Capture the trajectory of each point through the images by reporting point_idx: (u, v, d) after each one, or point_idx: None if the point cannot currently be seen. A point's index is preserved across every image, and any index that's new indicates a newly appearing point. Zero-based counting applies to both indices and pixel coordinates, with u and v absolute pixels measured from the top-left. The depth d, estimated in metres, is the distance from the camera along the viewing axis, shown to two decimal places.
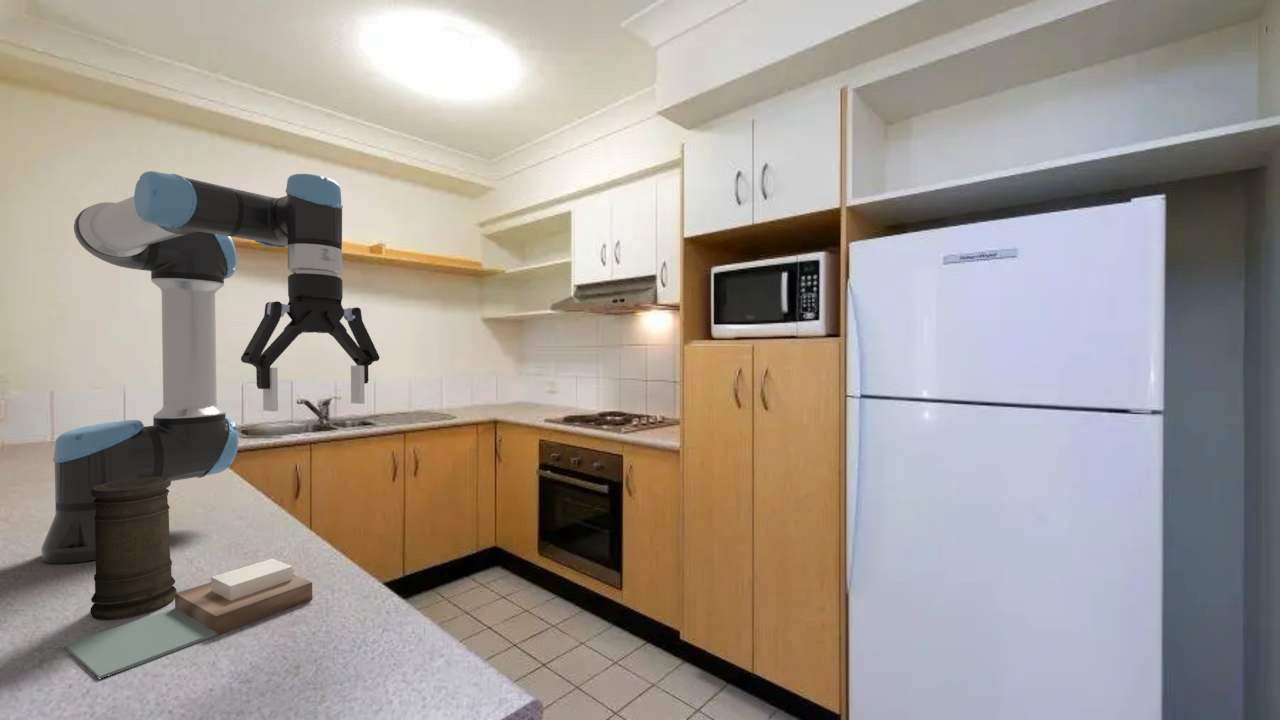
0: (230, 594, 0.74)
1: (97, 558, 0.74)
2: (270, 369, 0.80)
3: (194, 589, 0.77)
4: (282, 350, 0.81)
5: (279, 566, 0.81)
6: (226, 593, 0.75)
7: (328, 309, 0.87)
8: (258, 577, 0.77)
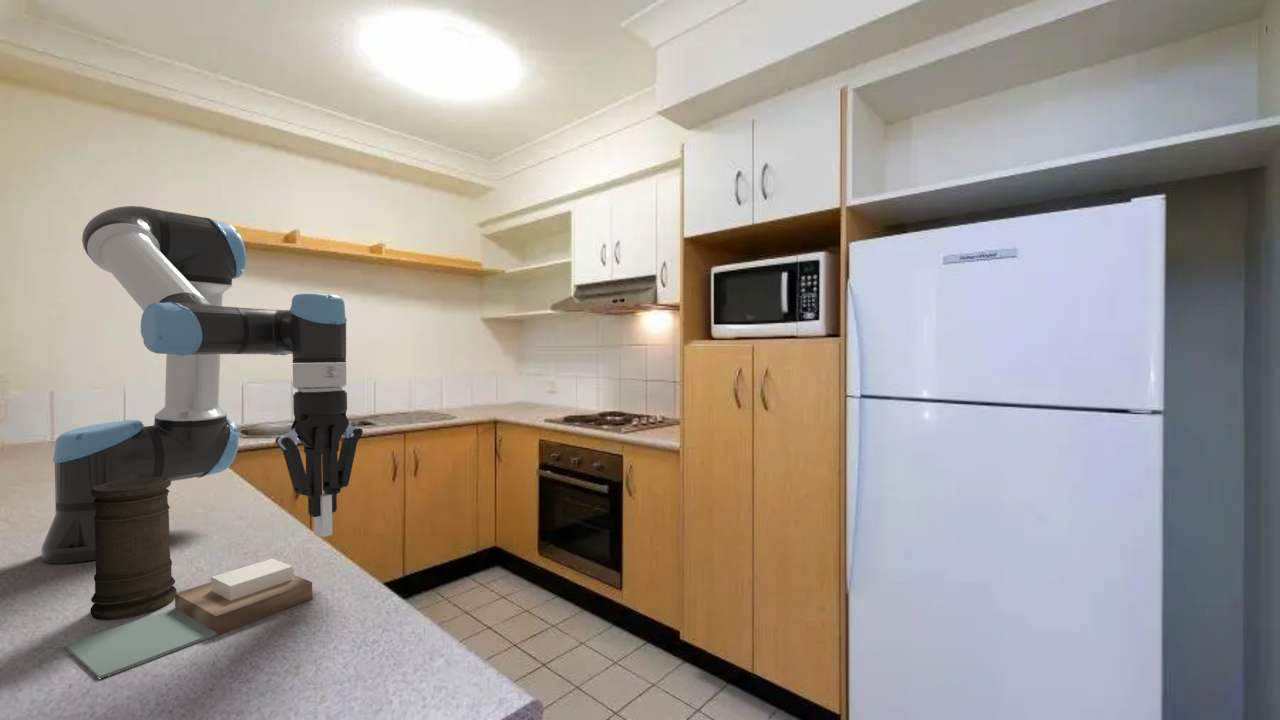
0: (230, 594, 0.74)
1: (97, 558, 0.74)
2: (321, 498, 0.86)
3: (194, 589, 0.77)
4: (320, 475, 0.86)
5: (279, 566, 0.81)
6: (226, 593, 0.75)
7: (336, 416, 0.88)
8: (258, 577, 0.77)
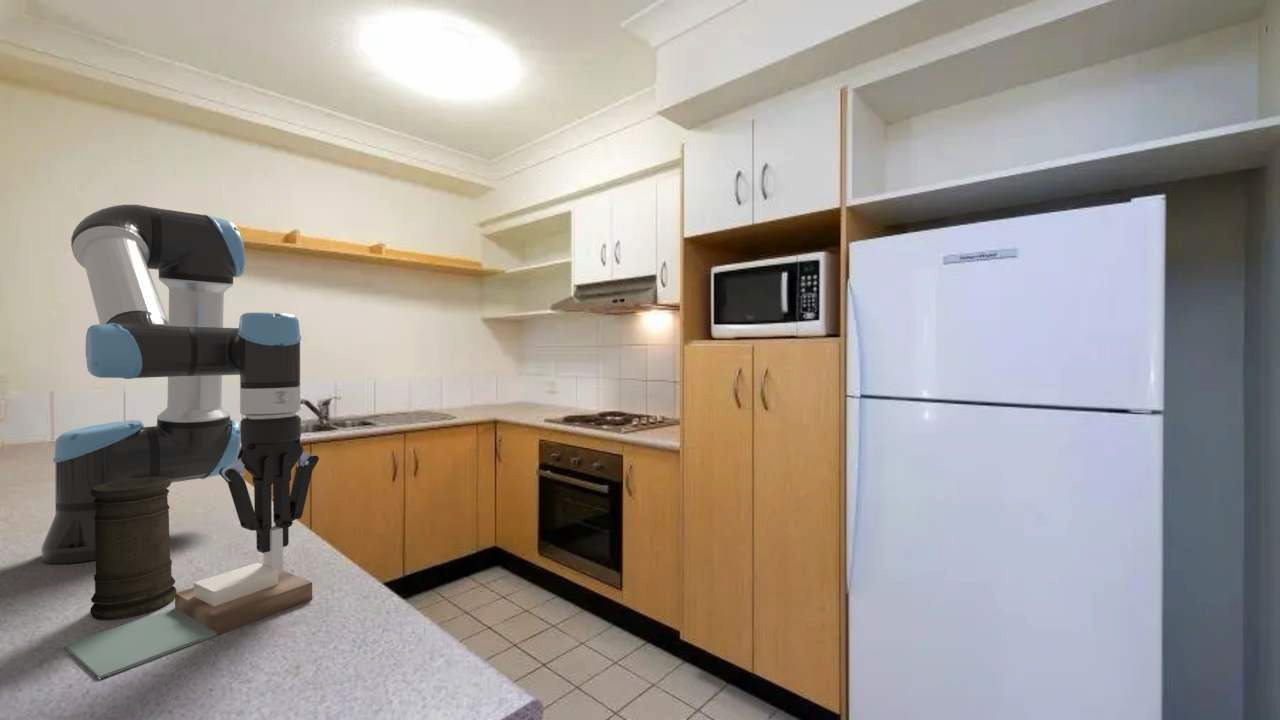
0: (213, 600, 0.72)
1: (97, 558, 0.74)
2: (270, 532, 0.80)
3: None
4: (270, 507, 0.80)
5: (264, 570, 0.79)
6: (209, 599, 0.73)
7: (289, 443, 0.82)
8: (242, 582, 0.75)
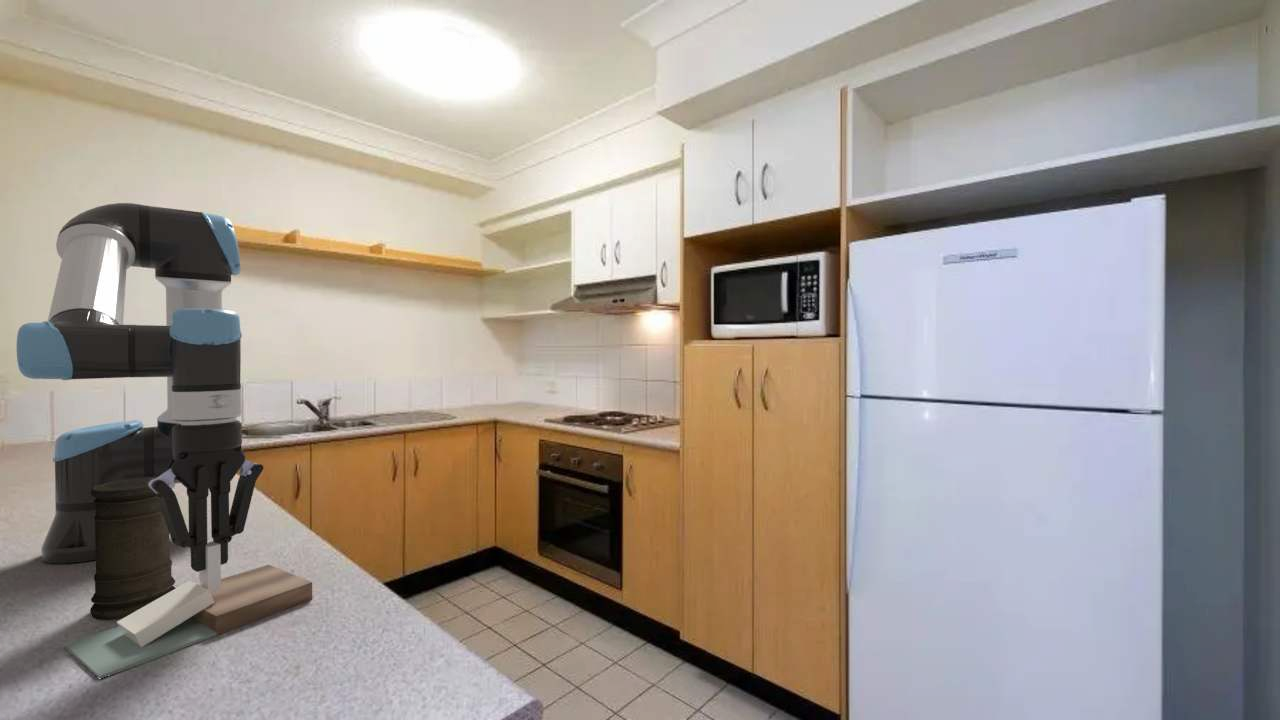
0: (138, 641, 0.66)
1: (97, 558, 0.74)
2: (206, 548, 0.73)
3: None
4: (205, 522, 0.73)
5: (194, 592, 0.72)
6: (135, 639, 0.66)
7: (228, 451, 0.75)
8: (168, 614, 0.68)
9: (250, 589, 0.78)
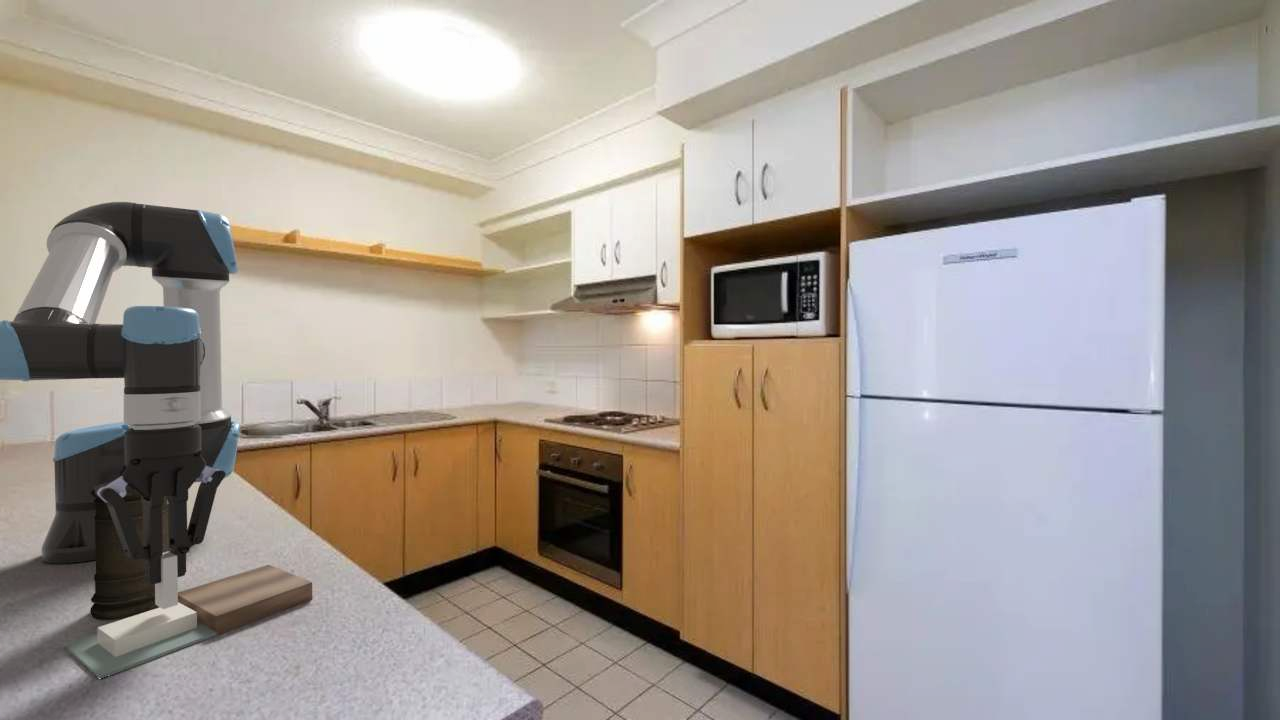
0: (115, 649, 0.64)
1: (97, 558, 0.74)
2: (161, 560, 0.69)
3: (194, 589, 0.77)
4: (160, 532, 0.69)
5: (182, 612, 0.71)
6: (111, 648, 0.65)
7: (186, 457, 0.71)
8: (152, 627, 0.67)
9: (250, 589, 0.78)
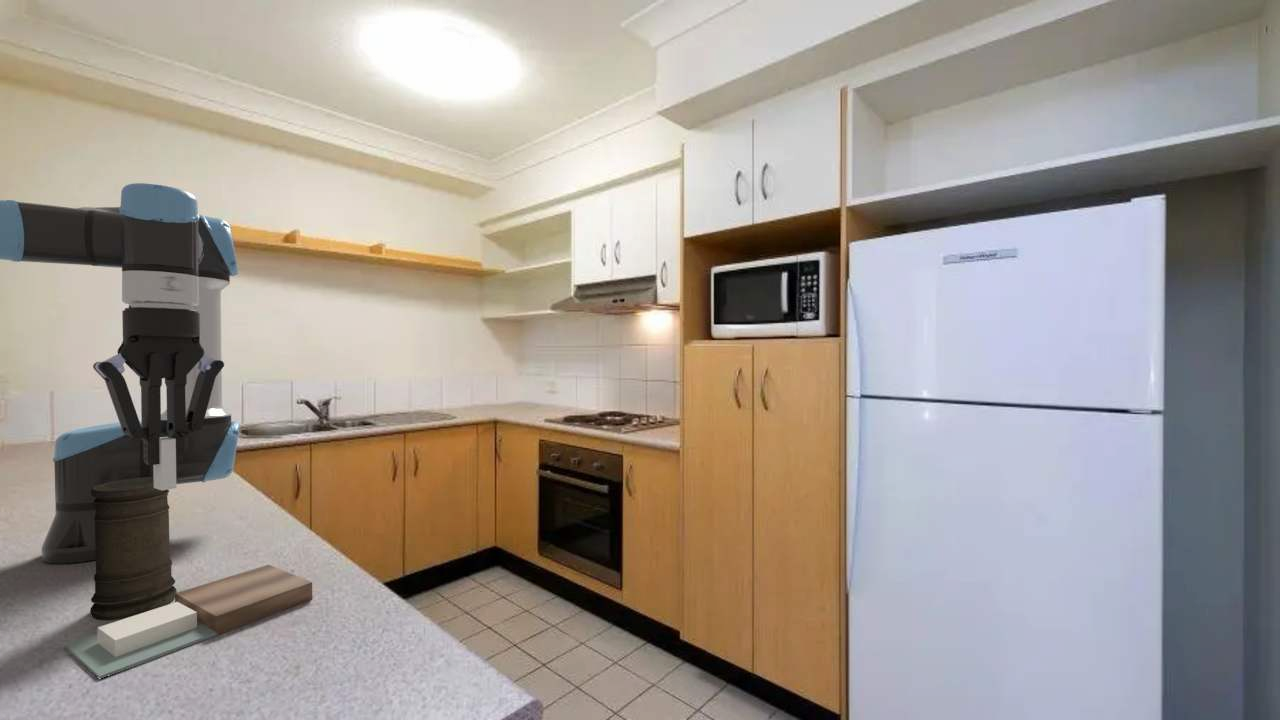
0: (115, 649, 0.64)
1: (97, 558, 0.74)
2: (159, 442, 0.69)
3: (194, 589, 0.77)
4: (158, 413, 0.69)
5: (182, 612, 0.71)
6: (111, 648, 0.65)
7: (184, 342, 0.71)
8: (152, 627, 0.67)
9: (250, 589, 0.78)
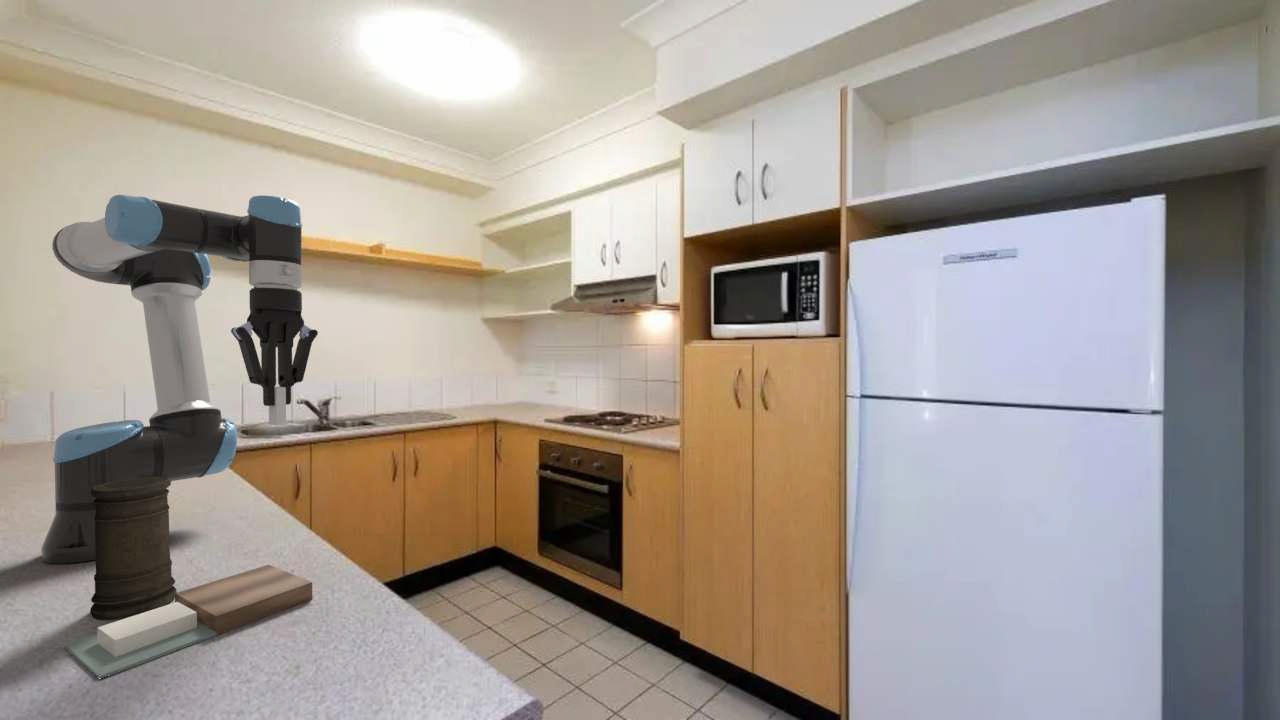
0: (115, 649, 0.64)
1: (97, 558, 0.74)
2: (275, 389, 0.92)
3: (194, 589, 0.77)
4: (274, 367, 0.92)
5: (182, 612, 0.71)
6: (111, 648, 0.65)
7: (291, 314, 0.94)
8: (152, 627, 0.67)
9: (250, 589, 0.78)
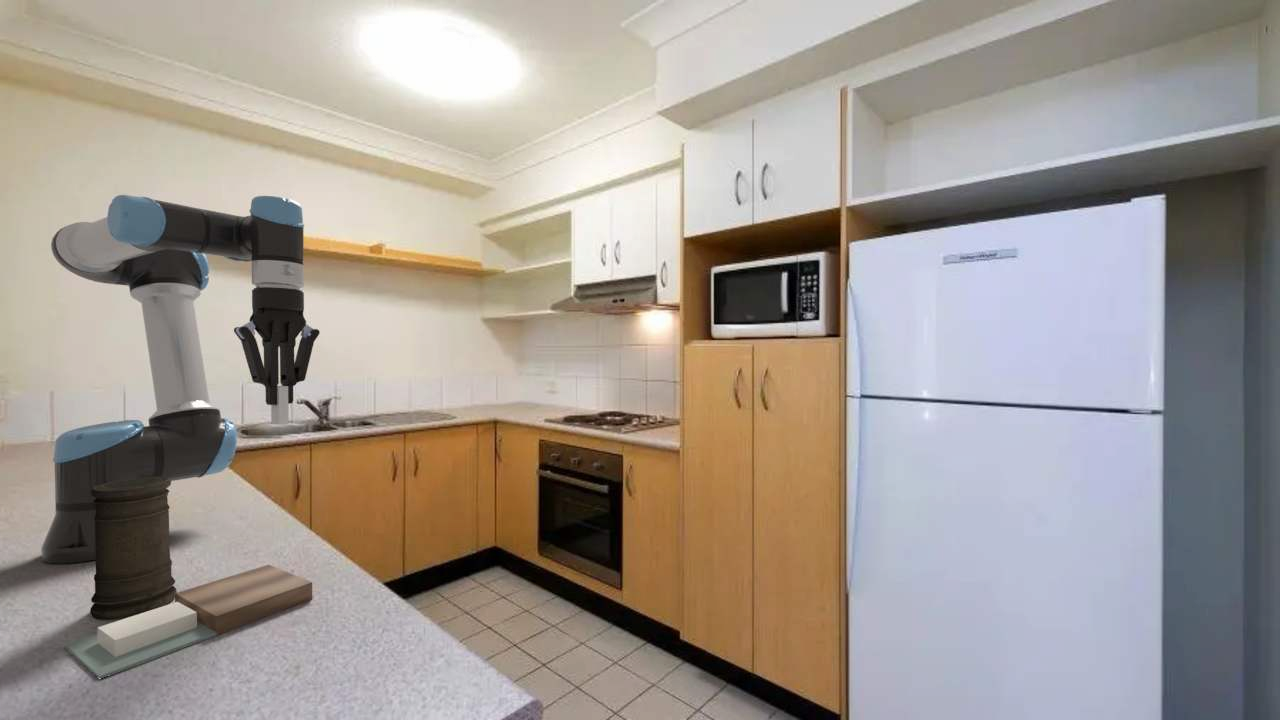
0: (115, 649, 0.64)
1: (97, 558, 0.74)
2: (277, 388, 0.93)
3: (194, 589, 0.77)
4: (277, 366, 0.92)
5: (182, 612, 0.71)
6: (111, 648, 0.65)
7: (293, 314, 0.95)
8: (152, 627, 0.67)
9: (250, 589, 0.78)
